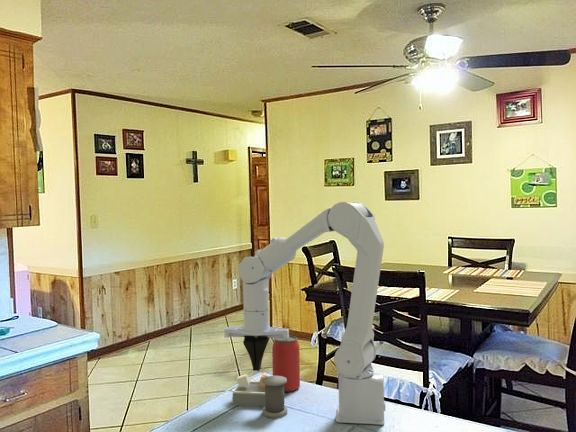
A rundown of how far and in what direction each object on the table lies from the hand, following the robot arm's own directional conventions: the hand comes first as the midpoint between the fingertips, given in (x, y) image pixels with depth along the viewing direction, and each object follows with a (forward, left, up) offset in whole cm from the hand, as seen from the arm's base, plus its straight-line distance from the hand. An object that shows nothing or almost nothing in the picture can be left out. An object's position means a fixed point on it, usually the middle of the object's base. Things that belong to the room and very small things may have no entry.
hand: (257, 369), depth 111 cm
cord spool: (-5, +7, -7) cm, 11 cm away
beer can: (-5, -8, -7) cm, 12 cm away
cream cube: (+3, 0, -4) cm, 5 cm away
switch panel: (+1, 0, -7) cm, 7 cm away
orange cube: (-1, 0, -4) cm, 4 cm away
